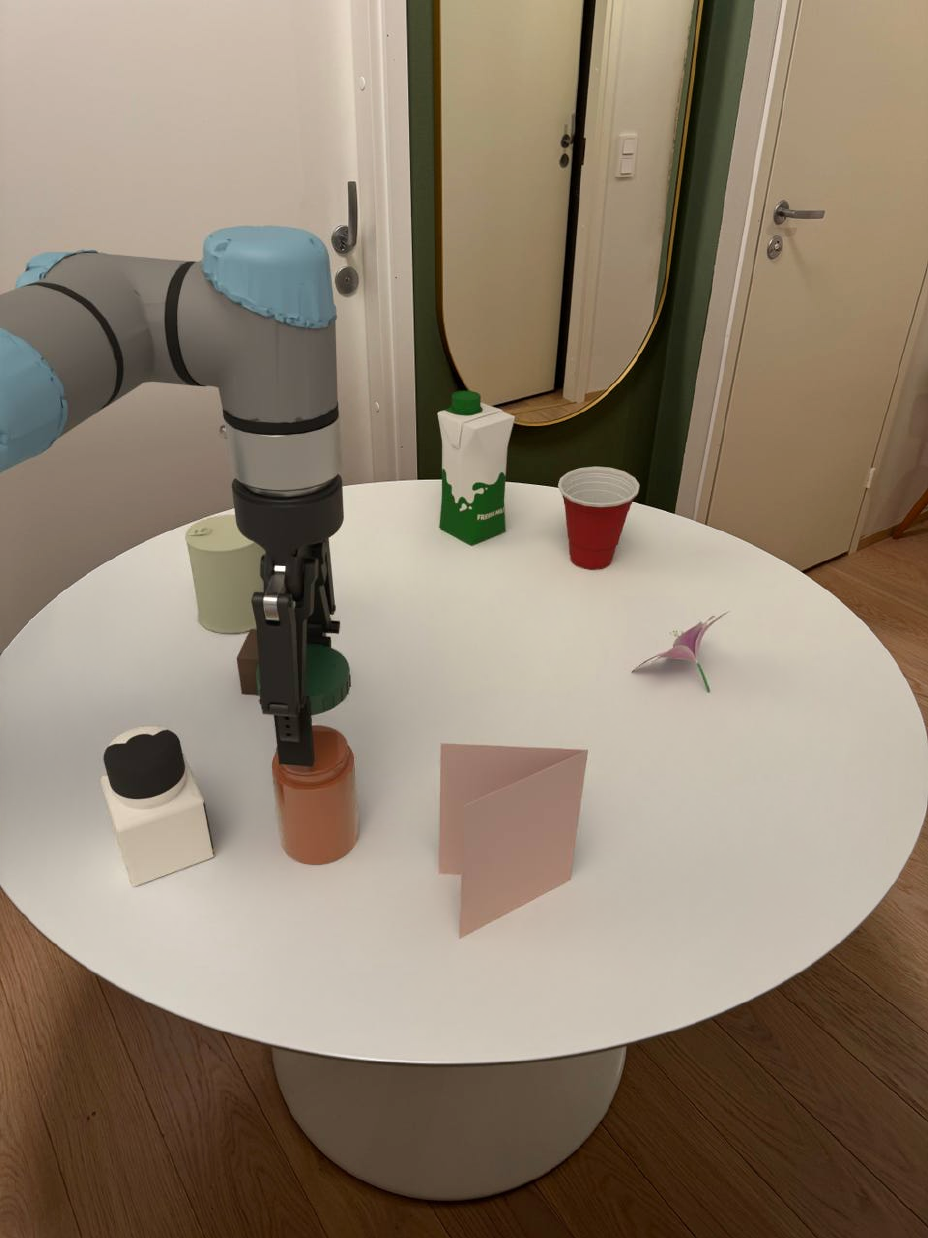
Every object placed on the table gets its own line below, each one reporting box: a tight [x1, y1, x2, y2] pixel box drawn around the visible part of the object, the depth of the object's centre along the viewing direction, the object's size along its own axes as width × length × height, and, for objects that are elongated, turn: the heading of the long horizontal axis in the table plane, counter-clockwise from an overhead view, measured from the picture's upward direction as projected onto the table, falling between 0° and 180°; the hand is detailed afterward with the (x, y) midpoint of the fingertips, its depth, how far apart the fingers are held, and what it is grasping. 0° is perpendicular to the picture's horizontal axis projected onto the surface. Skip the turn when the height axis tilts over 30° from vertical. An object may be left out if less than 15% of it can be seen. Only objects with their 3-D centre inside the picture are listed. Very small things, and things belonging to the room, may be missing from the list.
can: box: [184, 514, 266, 635], centre depth 106 cm, size 9×9×12 cm
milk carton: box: [437, 390, 516, 546], centre depth 124 cm, size 9×9×20 cm
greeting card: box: [438, 742, 589, 940], centre depth 69 cm, size 11×7×15 cm, turn 88°
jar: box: [270, 724, 360, 866], centre depth 76 cm, size 7×7×10 cm
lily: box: [632, 610, 731, 693], centre depth 99 cm, size 12×12×10 cm
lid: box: [256, 644, 352, 717], centre depth 70 cm, size 7×7×2 cm
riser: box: [236, 629, 259, 696], centre depth 97 cm, size 6×6×5 cm
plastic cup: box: [557, 466, 640, 571], centre depth 120 cm, size 11×11×12 cm
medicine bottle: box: [100, 725, 215, 887], centre depth 74 cm, size 7×7×12 cm
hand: (308, 729), depth 73 cm, fingers closed on lid, 7 cm apart
